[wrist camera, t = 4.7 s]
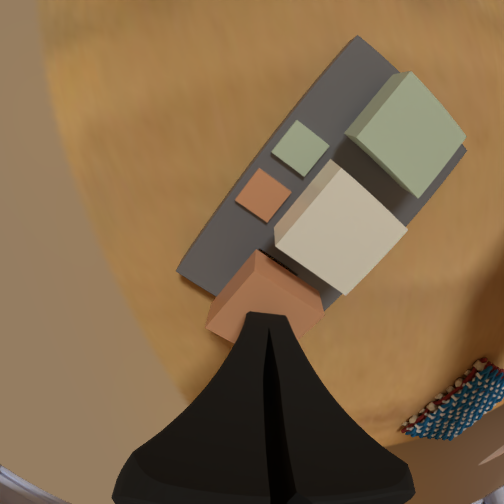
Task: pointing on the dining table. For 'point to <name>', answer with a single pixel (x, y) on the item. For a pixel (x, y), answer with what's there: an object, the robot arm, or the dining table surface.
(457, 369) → the dining table surface
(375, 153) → the key sage
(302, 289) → the key rust
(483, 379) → the woven mat
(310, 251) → the cream cube block
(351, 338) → the dining table surface
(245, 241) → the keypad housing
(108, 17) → the dining table surface
